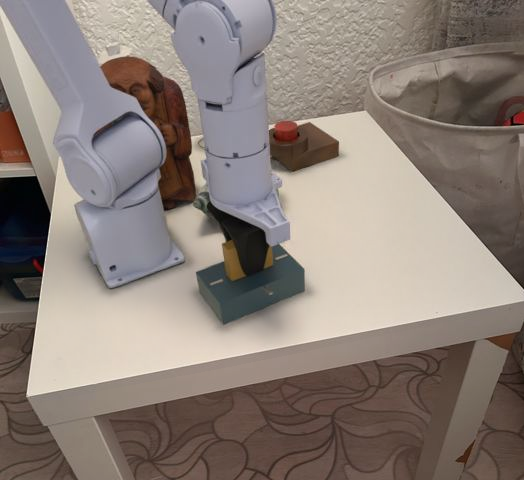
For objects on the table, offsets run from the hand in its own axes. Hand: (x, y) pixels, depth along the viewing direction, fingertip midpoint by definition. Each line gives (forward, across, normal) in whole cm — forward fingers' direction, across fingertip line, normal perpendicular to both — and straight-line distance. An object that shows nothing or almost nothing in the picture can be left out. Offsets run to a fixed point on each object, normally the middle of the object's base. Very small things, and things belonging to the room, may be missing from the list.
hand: (249, 266), depth 58 cm
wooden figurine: (+4, +24, +2) cm, 24 cm away
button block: (+4, +24, -20) cm, 31 cm away
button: (0, +23, -18) cm, 29 cm away
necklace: (+4, +34, -12) cm, 36 cm away
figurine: (+4, +33, 0) cm, 33 cm away
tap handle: (0, 0, 0) cm, 0 cm away
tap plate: (+3, 0, 0) cm, 3 cm away
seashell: (+4, +15, -6) cm, 17 cm away
